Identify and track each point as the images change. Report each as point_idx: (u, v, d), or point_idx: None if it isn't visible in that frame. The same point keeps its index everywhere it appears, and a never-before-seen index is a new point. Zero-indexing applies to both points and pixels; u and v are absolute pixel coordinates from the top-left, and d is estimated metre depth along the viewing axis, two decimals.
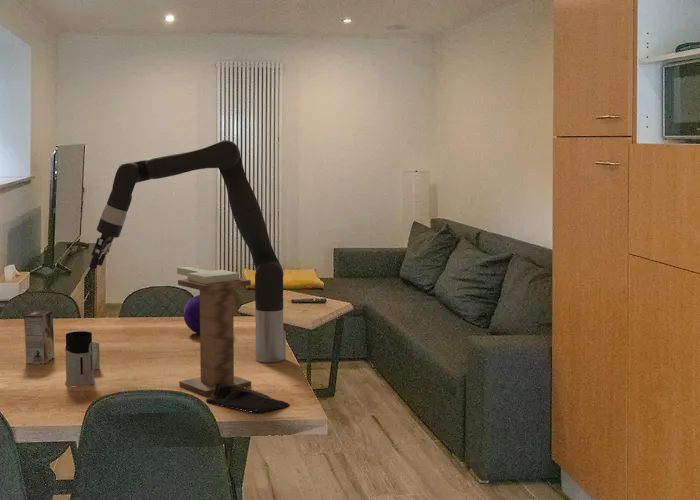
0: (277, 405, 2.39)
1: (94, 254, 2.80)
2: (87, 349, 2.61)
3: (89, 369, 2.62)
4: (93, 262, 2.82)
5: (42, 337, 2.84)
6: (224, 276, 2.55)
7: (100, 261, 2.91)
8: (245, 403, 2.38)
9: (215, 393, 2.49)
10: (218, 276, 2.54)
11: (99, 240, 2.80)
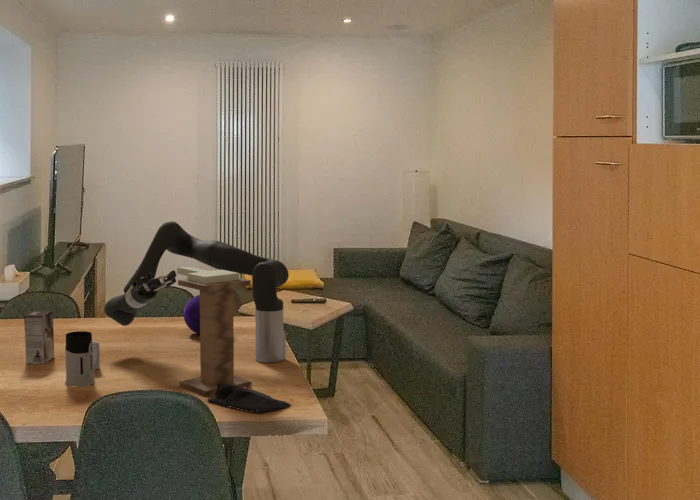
0: (278, 405, 2.39)
1: (136, 283, 2.78)
2: (87, 349, 2.61)
3: (89, 369, 2.62)
4: (145, 278, 2.77)
5: (42, 337, 2.84)
6: (224, 276, 2.55)
7: (171, 274, 2.83)
8: (247, 403, 2.38)
9: (217, 393, 2.49)
10: (218, 276, 2.54)
11: (130, 289, 2.81)
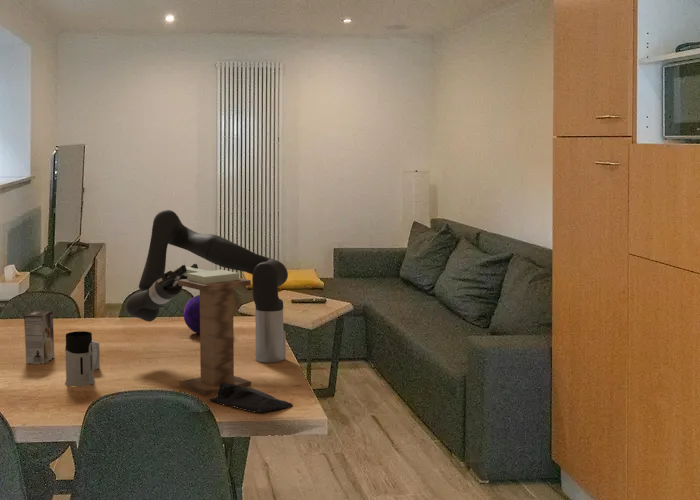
0: (280, 405, 2.39)
1: (169, 276, 2.67)
2: (87, 349, 2.61)
3: (89, 369, 2.62)
4: (178, 271, 2.66)
5: (42, 337, 2.84)
6: (224, 276, 2.55)
7: (193, 267, 2.69)
8: (248, 403, 2.38)
9: (219, 393, 2.49)
10: (218, 276, 2.54)
11: (158, 282, 2.69)
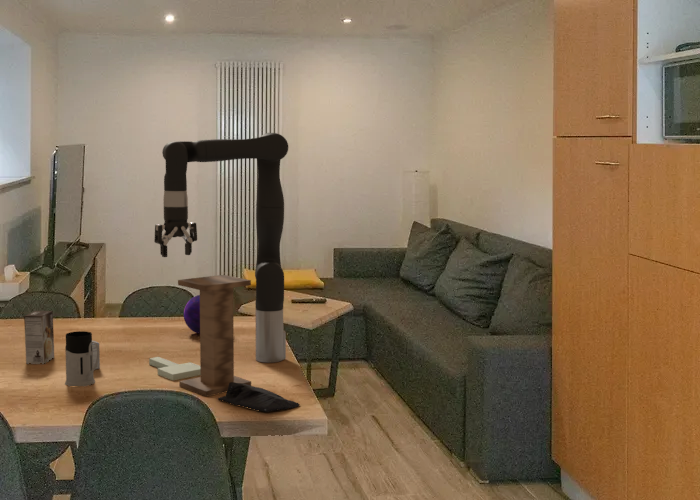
0: (287, 405, 2.39)
1: (156, 241, 2.75)
2: (87, 349, 2.61)
3: (89, 369, 2.62)
4: (161, 250, 2.76)
5: (42, 337, 2.84)
6: (191, 372, 2.72)
7: (187, 250, 2.82)
8: (255, 403, 2.39)
9: (228, 392, 2.50)
10: (186, 372, 2.71)
11: (156, 226, 2.74)
